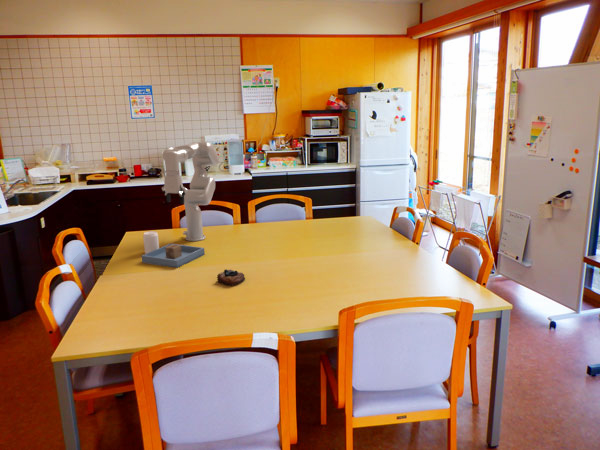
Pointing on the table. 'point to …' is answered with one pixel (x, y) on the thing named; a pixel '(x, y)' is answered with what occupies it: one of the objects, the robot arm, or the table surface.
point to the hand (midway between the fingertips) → (175, 202)
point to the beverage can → (150, 241)
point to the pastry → (230, 277)
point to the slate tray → (160, 259)
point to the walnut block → (173, 251)
